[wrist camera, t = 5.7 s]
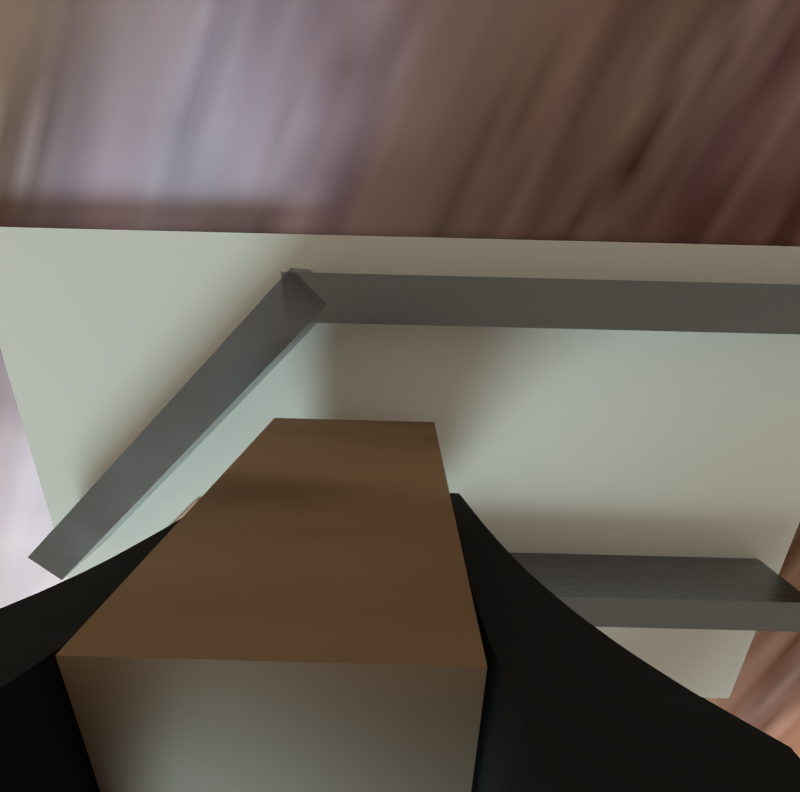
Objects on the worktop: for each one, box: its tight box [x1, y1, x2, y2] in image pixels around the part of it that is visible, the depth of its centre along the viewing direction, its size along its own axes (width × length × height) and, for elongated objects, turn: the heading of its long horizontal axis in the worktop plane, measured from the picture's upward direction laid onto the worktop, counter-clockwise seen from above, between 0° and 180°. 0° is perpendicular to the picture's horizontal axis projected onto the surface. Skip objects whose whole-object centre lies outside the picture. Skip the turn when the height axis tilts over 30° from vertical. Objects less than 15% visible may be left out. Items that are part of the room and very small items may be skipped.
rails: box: [28, 268, 800, 632], centre depth 13 cm, size 16×25×2 cm, turn 89°
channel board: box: [0, 227, 800, 698], centre depth 14 cm, size 18×27×1 cm, turn 89°
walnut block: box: [55, 418, 487, 792], centre depth 8 cm, size 4×4×7 cm
